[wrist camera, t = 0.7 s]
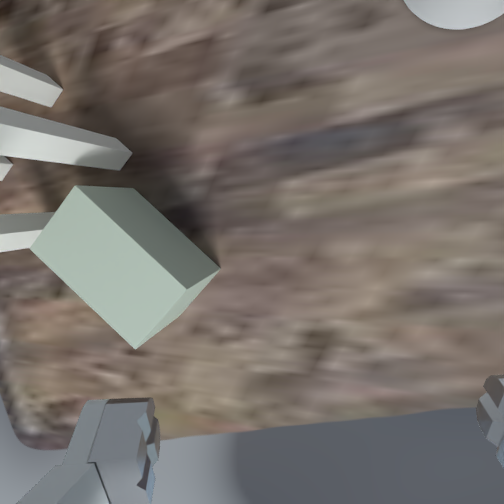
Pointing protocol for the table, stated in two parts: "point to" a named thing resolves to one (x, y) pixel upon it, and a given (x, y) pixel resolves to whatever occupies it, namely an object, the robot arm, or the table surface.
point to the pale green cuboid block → (123, 259)
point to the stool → (43, 145)
